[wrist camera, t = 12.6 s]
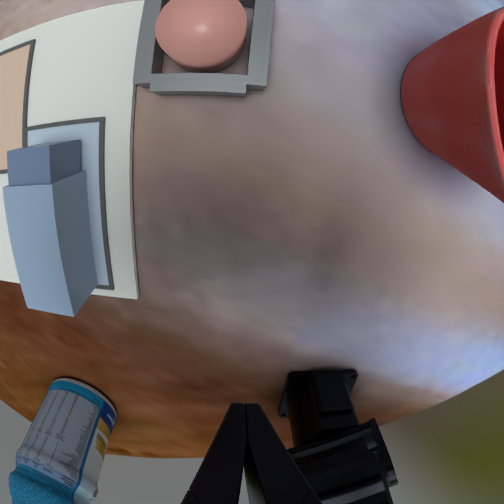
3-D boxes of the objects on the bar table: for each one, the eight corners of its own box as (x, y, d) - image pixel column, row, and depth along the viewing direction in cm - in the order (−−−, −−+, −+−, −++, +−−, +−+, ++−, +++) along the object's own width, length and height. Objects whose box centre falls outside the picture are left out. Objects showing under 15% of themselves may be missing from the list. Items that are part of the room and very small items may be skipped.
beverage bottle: (81, 368, 23) (14, 548, 5) (134, 418, 27) (102, 580, 8) (39, 379, 25) (-23, 519, 6) (86, 424, 28) (49, 557, 10)
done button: (241, 74, 14) (242, 64, 12) (164, 73, 14) (149, 63, 11) (248, 9, 13) (250, -11, 10) (173, 8, 12) (161, -11, 10)
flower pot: (505, 135, 16) (595, 161, 7) (424, 205, 18) (520, 266, 10) (449, 17, 12) (541, -7, 3) (347, 70, 15) (444, 34, 6)
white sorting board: (139, 295, 20) (136, 301, 20) (-10, 274, 19) (-14, 278, 18) (148, 2, 12) (144, -2, 12) (-22, 53, 11) (-27, 53, 10)
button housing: (262, 98, 15) (265, 95, 14) (143, 95, 15) (131, 92, 13) (272, -4, 13) (276, -17, 11) (156, -5, 12) (148, -17, 10)
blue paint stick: (97, 284, 19) (74, 316, 15) (54, 279, 19) (27, 307, 15) (86, 138, 15) (50, 145, 11) (38, 143, 15) (0, 152, 11)
